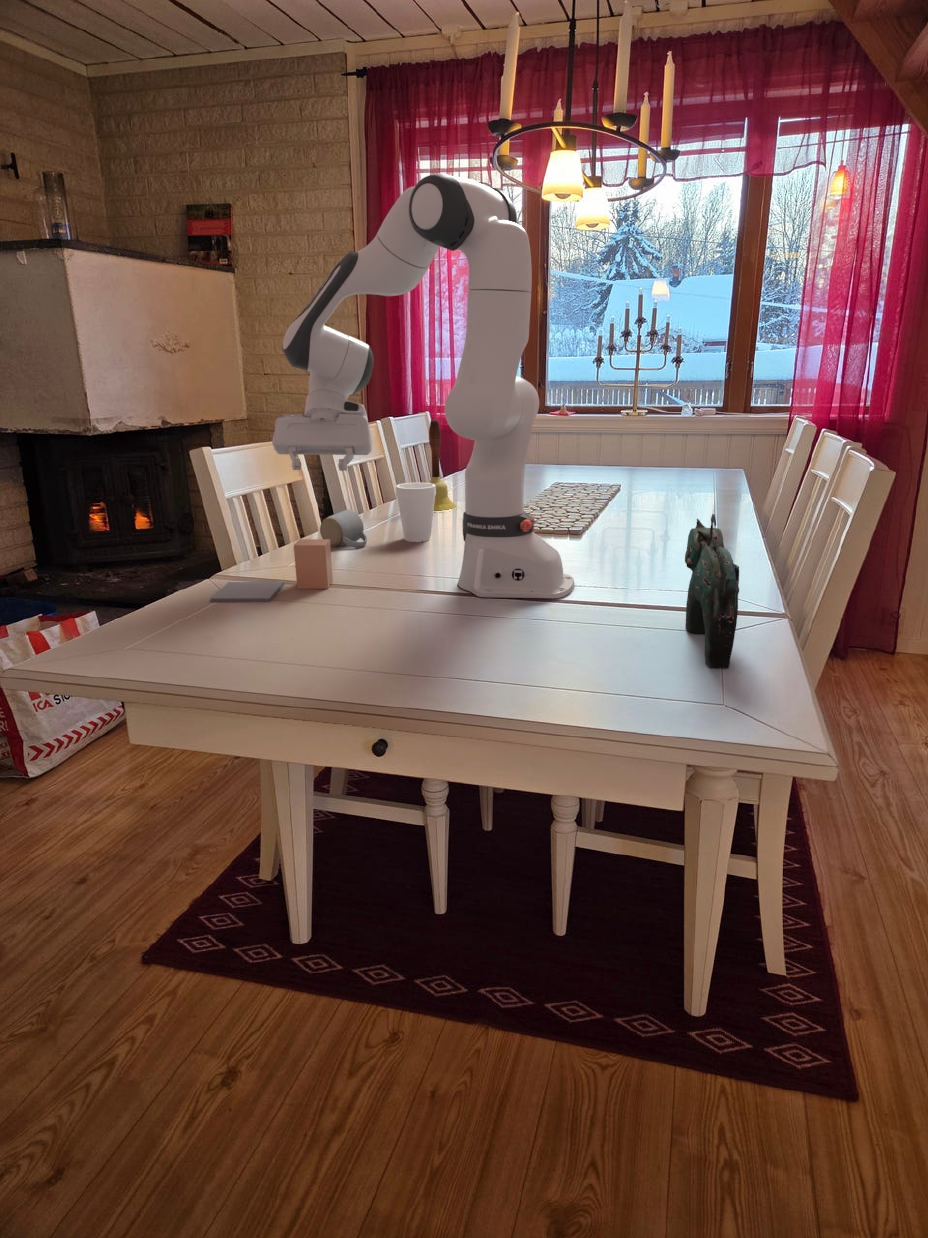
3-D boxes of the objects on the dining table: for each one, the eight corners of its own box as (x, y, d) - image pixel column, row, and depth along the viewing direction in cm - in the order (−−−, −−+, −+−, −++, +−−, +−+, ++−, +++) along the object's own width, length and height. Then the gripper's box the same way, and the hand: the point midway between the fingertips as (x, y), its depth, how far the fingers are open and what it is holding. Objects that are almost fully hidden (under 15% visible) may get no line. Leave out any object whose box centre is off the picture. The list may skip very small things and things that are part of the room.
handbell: (464, 506, 234) (463, 418, 226) (446, 513, 223) (444, 422, 215) (427, 503, 239) (424, 418, 231) (407, 510, 228) (404, 421, 220)
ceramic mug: (318, 545, 188) (316, 513, 185) (340, 538, 194) (339, 507, 192) (353, 551, 183) (351, 518, 180) (375, 544, 189) (374, 512, 187)
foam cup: (431, 544, 188) (429, 489, 184) (393, 542, 190) (391, 488, 186) (440, 535, 197) (439, 482, 193) (404, 534, 198) (402, 482, 194)
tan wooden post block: (332, 581, 158) (329, 539, 155) (328, 588, 153) (325, 545, 151) (302, 581, 158) (299, 539, 155) (297, 588, 153) (293, 545, 151)
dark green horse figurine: (676, 624, 131) (686, 504, 125) (717, 625, 130) (728, 504, 124) (698, 670, 112) (710, 531, 106) (745, 671, 112) (760, 531, 105)
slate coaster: (284, 584, 156) (283, 581, 156) (269, 601, 146) (269, 598, 146) (228, 585, 157) (228, 582, 156) (210, 601, 146) (210, 598, 146)
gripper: (273, 404, 164) (264, 458, 158) (371, 405, 164) (366, 459, 158) (280, 424, 170) (271, 477, 164) (375, 425, 170) (370, 478, 164)
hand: (319, 468), depth 161 cm, fingers open, 8 cm apart
